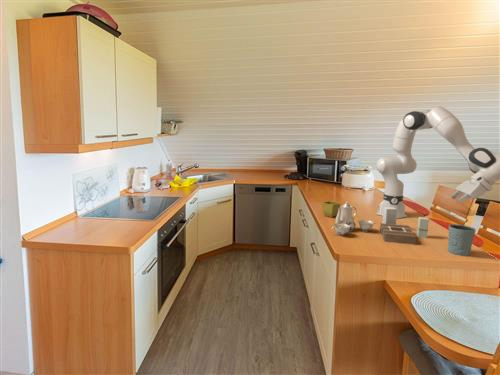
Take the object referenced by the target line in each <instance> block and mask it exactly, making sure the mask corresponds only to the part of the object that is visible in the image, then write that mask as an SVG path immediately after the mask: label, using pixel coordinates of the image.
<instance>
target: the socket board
mask: <svg viewBox="0 0 500 375" xmlns="http://www.w3.org/2000/svg"><path fill="white" fill-rule="evenodd" d="M379 227H380V228H379V231H380V234H381V237H382V239H383V241H384V242H386V243H387V242H388V243H397V244H405V245H406V244H407V245H416V240H417V235H416V234H415V233H414V232H413V230H412V229H411V227H410V226H409V225H407V224H396V225H395V224H384V223H382V222H380V225H379Z"/></svg>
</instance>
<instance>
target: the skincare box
mask: <svg viewBox="0 0 500 375" xmlns="http://www.w3.org/2000/svg"><path fill="white" fill-rule="evenodd" d="M396 216H397V209H396V208H394V207H384V209H383V216H382V222H381V223H384V224H395V225H397V218H396Z"/></svg>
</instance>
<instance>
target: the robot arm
mask: <svg viewBox="0 0 500 375" xmlns="http://www.w3.org/2000/svg"><path fill="white" fill-rule="evenodd" d="M432 128H433V129H434V130H435V131H436V132H437V133H438V134H439V135H440V136H441V137H443V138H444V139H445V140H446V141H447V142H448V143H450V144H451V145H452V146H453V147H454V148H455V149H456V150H457V151H458V152H459V153H460V155H462V157H463V158H464V159H465V160H466V161H467V163H468V167H469V170H470V171H471V173H473V175H472V176H469V179H467V180H464V181H463V182H462V183H460V184H459V185H457V186H456V187H455V192H454V193H453V194H452V195H451V196H450V198H451V199H452V200H455V199H457V202H458V203H460V204H461V203H463V202H464V201H468V200H469V199H471V200H476V199H478V198H479V197H481V196H483V195H485V194H486V193H487V192H491V190H493V189H494V188H493V185H494V184H496V183H497V181H499V180H500V153H497V152H494V151H491V150H489V149H487V148H485V147H477V148H475V147H474V146H473V145H472V144H471V143H470V142H469V140H468V139H467V137H466V133H465V129H464V126H463V124H462V122H460V120H459V119H458V118H457V117H456V116H455V115H454V114H453V113H452V112H451V111H450V110H448V109H447V108H445V107H443V106H436V107H434V108H433V107H432V108H431V109H421V110H414V111H410V112H408V113H406V114H405V115H404V117H403V119H401V120H400V121H399V123H398V124H397V127H396V130H395V133H394V136H393V141H392V143H391V148H392V150H394V151H395V153H396V156H385V157H381V158H378V160H377V162H376V164H375V165H376V170H377V172H378V173H379V174H381V175H382V178H383V180H384V193H383V197H382V198H383V199H382V201H381V202H380V203H378V209H377V211H376V215H378V216H382V217H383V209H384V207H394V208H396V209H397V216H396V219H402V218H407V217H408V215H407V214H406V213H405V212H406V204H405V203H404V186H405V185H404V182H403V181H402V180H401V179H399V177H398V175H405V174H412V173H414V172H415V171H416V169H417V167H418V166H417V164H418V163H417V161H416V160H415V159H414V158H413V154H412V148H413V143H414V140H415V135H416V132H417V131H422V130H428V129H432ZM460 195H462V196H461V197H459V198H457V197H458V196H460Z"/></svg>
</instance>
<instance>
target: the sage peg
mask: <svg viewBox="0 0 500 375" xmlns="http://www.w3.org/2000/svg"><path fill="white" fill-rule="evenodd" d="M429 223H430V220H429V218H428V217H425V216H424V217H422V216H418V219H417V227H416V229H417V230H416V237H418V238H420V239H421V238H422V239H427V238H428V231H429Z"/></svg>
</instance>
